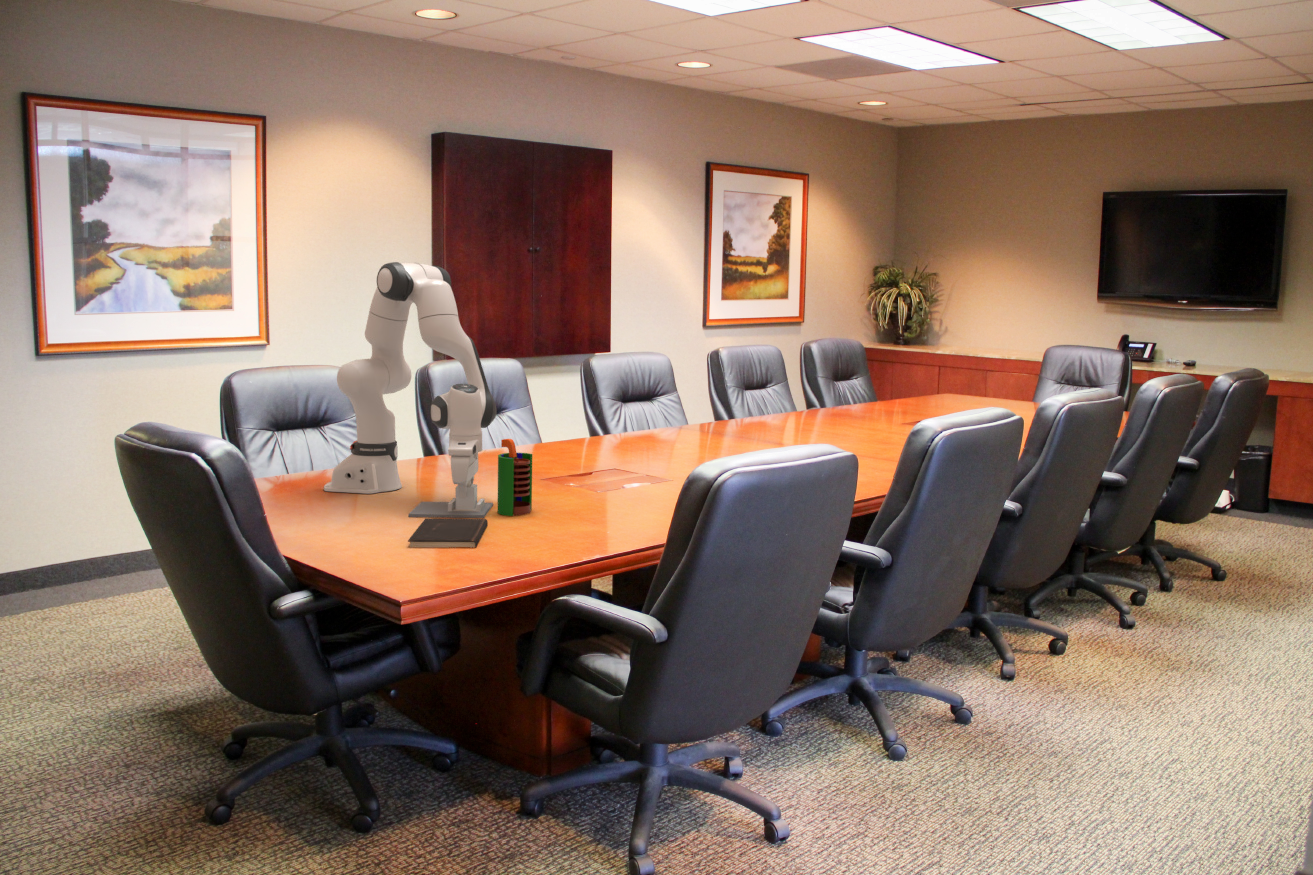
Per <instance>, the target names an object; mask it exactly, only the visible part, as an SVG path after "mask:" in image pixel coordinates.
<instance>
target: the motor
mask: <svg viewBox="0 0 1313 875" xmlns="http://www.w3.org/2000/svg"><path fill="white" fill-rule="evenodd" d="M500 446H501V448H507V450H508V452H504V453H500V454H497V514H499V515H502V516H508V517H513V516H523V515H525V516H526V515H528V514H530V513H531V511H532V509H533V508H532V505H533V500H532V499H533V498H532V497H533V453H529V452H517V449H516V448H517V447H516V444H515V441H514V439H512V438H504V439H501V442H500Z"/></svg>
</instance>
